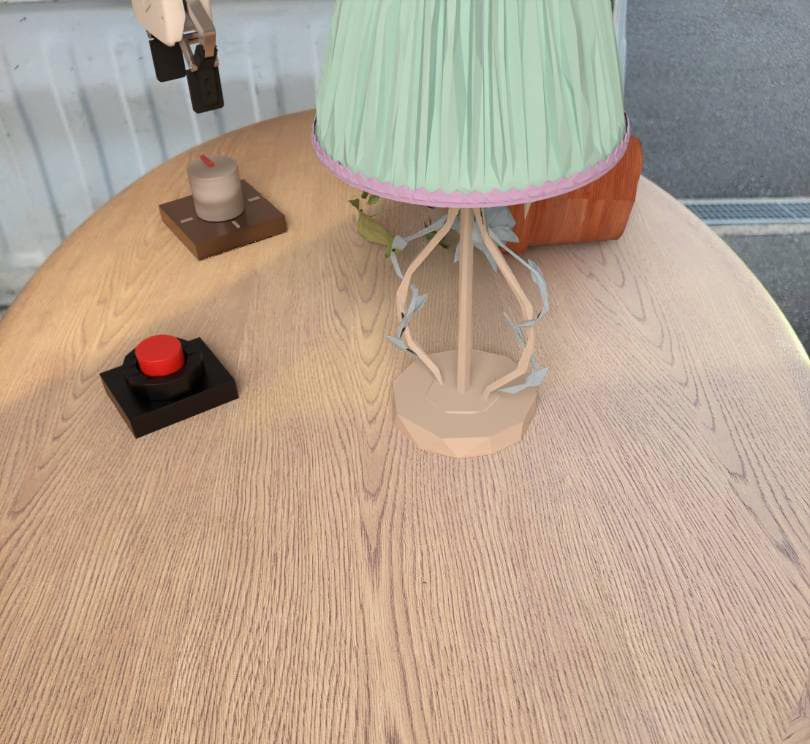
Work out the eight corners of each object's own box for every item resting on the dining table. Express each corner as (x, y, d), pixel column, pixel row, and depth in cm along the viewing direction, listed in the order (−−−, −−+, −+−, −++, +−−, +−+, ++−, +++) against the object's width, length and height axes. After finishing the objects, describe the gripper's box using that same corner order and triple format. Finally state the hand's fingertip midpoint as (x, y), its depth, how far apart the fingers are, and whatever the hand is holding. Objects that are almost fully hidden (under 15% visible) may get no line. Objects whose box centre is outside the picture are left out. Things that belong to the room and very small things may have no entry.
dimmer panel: (199, 261, 97) (194, 243, 95) (162, 221, 103) (157, 203, 101) (287, 231, 100) (284, 214, 99) (246, 194, 107) (243, 177, 105)
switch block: (136, 439, 77) (123, 404, 74) (105, 392, 81) (92, 357, 78) (239, 398, 80) (231, 363, 77) (204, 355, 85) (195, 320, 82)
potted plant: (602, 222, 103) (305, 203, 102) (636, 89, 91) (299, 66, 90) (618, 303, 93) (289, 283, 92) (658, 167, 81) (281, 142, 80)
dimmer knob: (253, 212, 99) (245, 166, 95) (208, 226, 97) (198, 180, 94) (232, 193, 103) (224, 148, 99) (188, 207, 101) (178, 161, 97)
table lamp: (619, 375, 81) (721, -179, 51) (527, 529, 68) (593, -86, 38) (412, 317, 88) (397, -196, 58) (295, 447, 75) (199, -123, 46)
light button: (149, 383, 76) (144, 366, 75) (133, 360, 79) (128, 344, 77) (192, 367, 78) (187, 350, 76) (174, 345, 80) (170, 329, 79)
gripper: (80, -120, 81) (126, 75, 94) (147, -81, 71) (188, 132, 84) (156, -131, 84) (191, 61, 97) (231, -95, 74) (259, 114, 87)
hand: (190, 93), depth 90 cm, fingers open, 9 cm apart
